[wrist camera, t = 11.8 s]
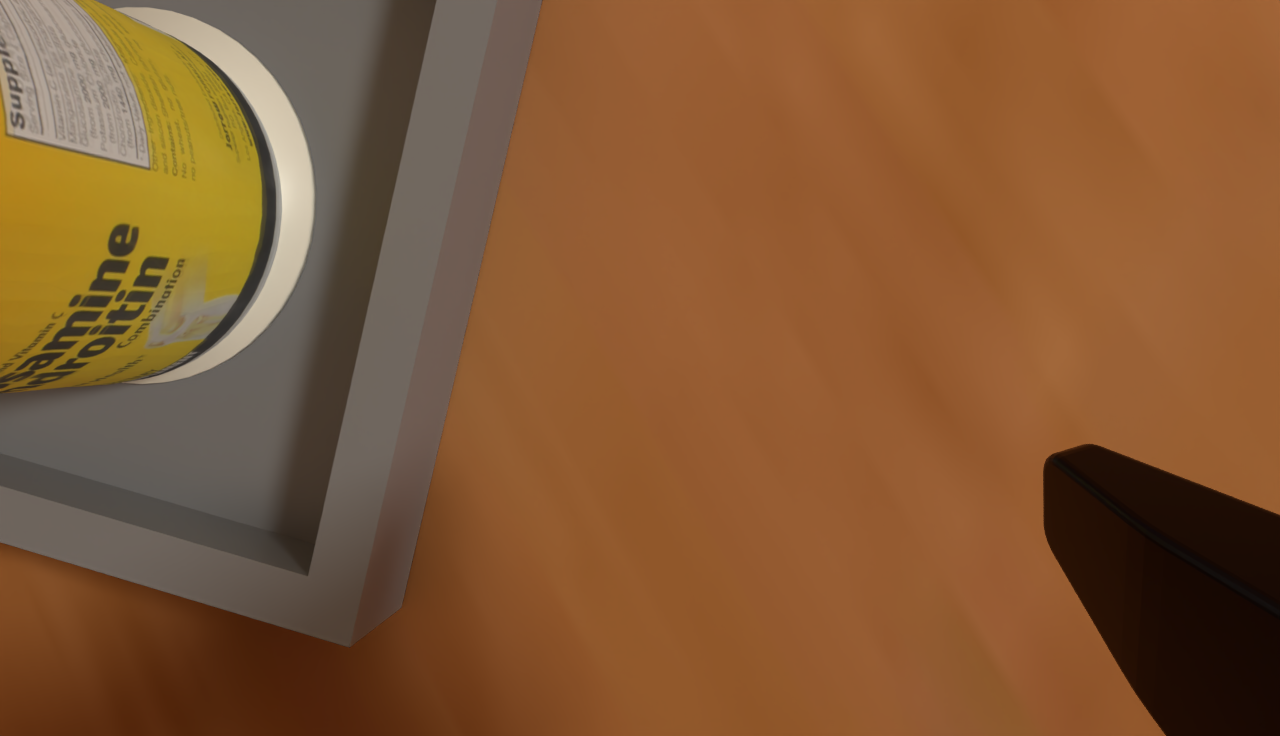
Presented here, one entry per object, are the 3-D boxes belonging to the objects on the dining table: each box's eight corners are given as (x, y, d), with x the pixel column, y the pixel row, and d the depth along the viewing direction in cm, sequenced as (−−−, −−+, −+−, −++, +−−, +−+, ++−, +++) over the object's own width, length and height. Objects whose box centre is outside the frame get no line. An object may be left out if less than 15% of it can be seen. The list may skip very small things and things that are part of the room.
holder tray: (401, 607, 21) (349, 647, 19) (-181, 436, 23) (-300, 451, 20) (556, -64, 20) (523, -115, 18) (-68, -196, 22) (-179, -260, 19)
